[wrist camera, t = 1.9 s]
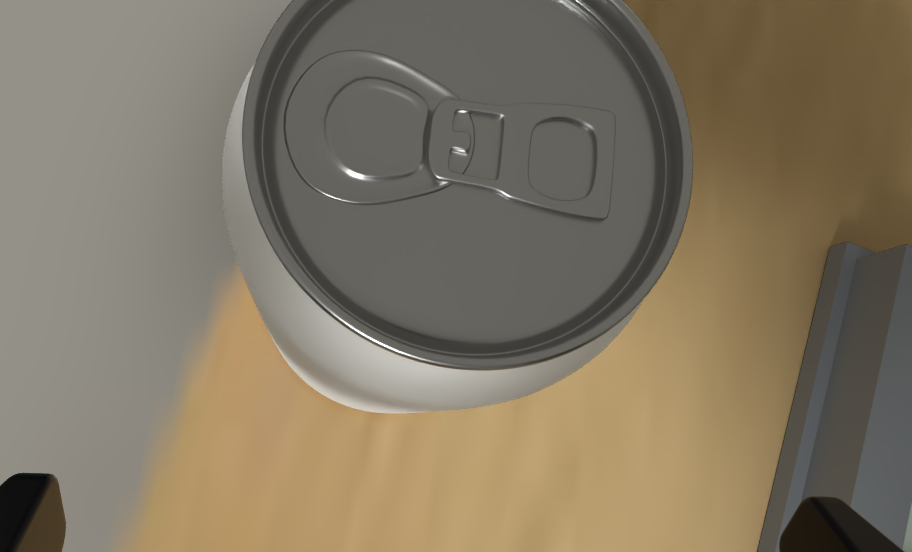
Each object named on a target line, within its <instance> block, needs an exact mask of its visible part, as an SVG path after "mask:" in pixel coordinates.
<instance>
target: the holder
mask: <svg viewBox="0 0 912 552" xmlns="http://www.w3.org/2000/svg"><path fill="white" fill-rule="evenodd" d="M810 496H821V497H835V498H838V499H840V500H842V501H843V502H845V503H846V504H847V505H849V506H850V507H851V508H852V509H853V510H855V511H856V512H857V513H858V514H859V515H861V516H862V517H863V518H864V519H866V520H867V521H868V522H869V523H870V524H872V525H873V526H874V527H875V528H876V529H878V530H879V531H880V532H881V533H882V534H884V535H885V536H886V537H887V538H889V539H890V540H891V541H892V542H893V543H895V544H896V545H897V546H898V547H899V548H901V549H902V550H903V551H904V552H912V246H910V245H908V244H905V245H902V246H899V247H895V248H892V249H888V250H885V251H881V252H878V253H875V252H872V251H870V250H867V249H865V248H863V247H860V246H858V245H855V244H853V243H850V242H848V241H847V242H844V243H841V244H838V245H835V246H832V247H830V249H829V253H828V258H827V262H826V266H825V270H824V274H823V279H822V283H821V287H820V291H819V295H818V300H817V304H816V308H815V312H814V316H813V321H812V325H811V329H810V333H809V337H808V342H807V346H806V350H805V354H804V358H803V363H802V367H801V371H800V375H799V379H798V384H797V388H796V392H795V396H794V400H793V405H792V409H791V413H790V417H789V421H788V425H787V430H786V434H785V438H784V442H783V446H782V451H781V455H780V459H779V463H778V467H777V472H776V476H775V480H774V484H773V488H772V493H771V497H770V501H769V505H768V509H767V514H766V518H765V522H764V526H763V530H762V535H761V539H760V543H759V547H758V551H757V552H780V551H779V541H780V537H781V534H782V532H783V530H784V529H785V527H786V525H787V524H788V522H789V521H790V519H791V517H792V516H793V514H794V512H795V511H796V509H797V507H798V506H799V504H800V503H801V501H802V500H803V499H805V498H807V497H810Z"/></svg>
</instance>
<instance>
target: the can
mask: <svg viewBox="0 0 912 552" xmlns="http://www.w3.org/2000/svg"><path fill="white" fill-rule="evenodd" d="M692 181H693V149H692V138H691V131H690V125H689V120H688V115H687V111H686V107H685V104H684V100H683V97H682V94H681V91H680V88H679V86H678V83H677V81H676V78H675V76H674V74H673V71H672V69H671V67H670V65H669V63H668V61H667V59H666V57H665V55H664V54H663V52H662V50H661V49H660V47H659V45H658V44H657V42H656V41H655V39H654V38H653V36H652V35H651V33H650V32H649V30H648V29H647V28H646V26H645V25H644V24H643V23H642V21H641V20H640V19H639V18H638V17H637V15H636V14H635V13H634V12H633V11H632V10H631V9H630V8H629V6H628V5H627V4H626V3H625V2H624V1H623V0H293V1H292V2H291V3H290V4H289V5H288V6H287V8H286V9H285V10H284V12H283V13H282V14H281V16H280V17H279V19H278V20H277V21H276V23H275V25H274V26H273V28H272V29H271V31H270V33H269V34H268V36H267V38H266V40H265V42H264V44H263V46H262V48H261V50H260V52H259V55H258V57H257V59H256V62H255V63H254V65H253V66H252V68H251V70H250V72H249V73H248V75H247V77H246V79H245V81H244V83H243V85H242V87H241V89H240V91H239V94H238V96H237V99H236V101H235V104H234V107H233V110H232V113H231V116H230V120H229V124H228V128H227V133H226V138H225V144H224V151H223V164H222V192H223V204H224V212H225V218H226V223H227V228H228V232H229V236H230V240H231V243H232V247H233V250H234V253H235V256H236V259H237V262H238V265H239V267H240V270H241V272H242V275H243V277H244V280H245V282H246V284H247V287H248V289H249V291H250V293H251V295H252V298H253V300H254V302H255V304H256V306H257V309H258V311H259V313H260V315H261V317H262V319H263V321H264V323H265V325H266V327H267V329H268V331H269V333H270V335H271V337H272V339H273V341H274V343H275V345H276V346H277V348H278V350H279V351H280V353H281V354H282V356H283V357H284V359H285V360H286V362H287V363H288V364H289V365H290V367H291V368H292V369H293V370H294V371H295V372H296V373H297V374H298V375H299V376H300V377H301V378H302V379H303V380H304V381H305V382H306V383H307V384H308V385H310V386H311V387H312V388H314V389H315V390H316V391H318V392H319V393H321V394H322V395H324V396H326V397H328V398H330V399H331V400H334V401H336V402H338V403H340V404H343V405H346V406H348V407H352V408H355V409H359V410H363V411H369V412H376V413H418V412H434V411H448V410H459V409H468V408H477V407H483V406H489V405H493V404H498V403H503V402H507V401H511V400H514V399H518V398H521V397H524V396H527V395H530V394H532V393H535V392H537V391H540V390H542V389H544V388H547V387H549V386H551V385H553V384H555V383H556V382H558V381H560V380H562V379H564V378H565V377H567V376H569V375H571V374H572V373H574V372H575V371H577V370H578V369H580V368H581V367H583V366H584V365H586V364H587V363H588V362H590V361H591V360H592V359H593V358H595V357H596V356H597V355H598V354H599V353H601V352H602V351H603V350H604V349H605V348H606V347H607V346H608V345H609V344H610V343H611V342H612V341H613V340H614V339H615V338H616V337H617V336H618V334H619V333H620V332H621V331H622V330H623V329H624V327H625V326H626V325H627V324H628V322H629V321H630V319H631V318H632V317H633V315H634V314H635V312H636V311H637V309H638V308H639V306H640V304H641V303H642V301H643V299H644V298H645V297H646V295H647V294H648V293H649V292H650V291H651V289H652V288H653V286H654V285H655V284H656V282H657V281H658V279H659V278H660V276H661V275H662V273H663V272H664V270H665V268H666V266H667V265H668V263H669V261H670V259H671V257H672V255H673V253H674V251H675V249H676V246H677V244H678V242H679V239H680V236H681V234H682V231H683V228H684V224H685V221H686V217H687V213H688V209H689V204H690V198H691V191H692Z"/></svg>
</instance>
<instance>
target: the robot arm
mask: <svg viewBox="0 0 912 552" xmlns="http://www.w3.org/2000/svg"><path fill="white" fill-rule="evenodd" d="M65 531H66V521H65V515H64V510H63V505H62V499H61V494H60V489H59V483H58V480H57V478H56V477H55V476H54V475H52V474H44V473H18V474H15V475H13V476H11V477H10V478H8V479H7V480H6V481H5V482H4V483H3V484H2V485H1V486H0V552H62V548H63V544H64V538H65ZM779 551H780V552H904V551H903V550H902V549H901V548H899V547H898V546H897V545H896V544H895V543H893V542H892V541H891V540H890V539H889V538H887V537H886V536H885V535H884V534H882V533H881V532H880V531H879V530H878V529H876V528H875V527H874V526H873V525H872V524H870V523H869V522H868V521H867V520H866V519H864V518H863V517H862V516H861V515H859V514H858V513H857V512H856V511H855V510H853V509H852V508H851V507H850V506H849V505H847V504H846V503H845V502H843V501H842V500H840V499H838V498H835V497H821V496H810V497H807V498H805V499H803V500H802V501H801V503H800V504H799V506H798V507H797V509H796V511H795V512H794V514H793V516H792V517H791V519H790V521H789V522H788V524H787V525H786V527H785V529H784V530H783V532H782V534H781V537H780V541H779Z"/></svg>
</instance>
